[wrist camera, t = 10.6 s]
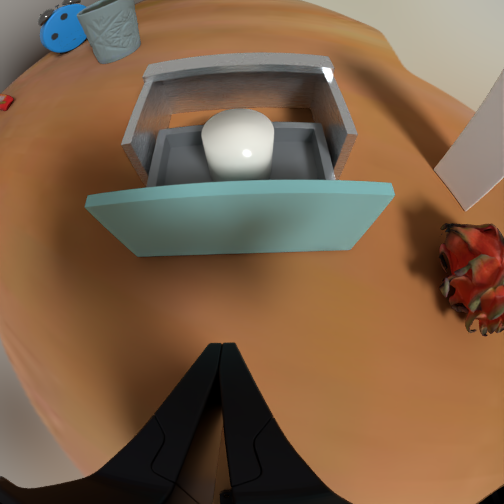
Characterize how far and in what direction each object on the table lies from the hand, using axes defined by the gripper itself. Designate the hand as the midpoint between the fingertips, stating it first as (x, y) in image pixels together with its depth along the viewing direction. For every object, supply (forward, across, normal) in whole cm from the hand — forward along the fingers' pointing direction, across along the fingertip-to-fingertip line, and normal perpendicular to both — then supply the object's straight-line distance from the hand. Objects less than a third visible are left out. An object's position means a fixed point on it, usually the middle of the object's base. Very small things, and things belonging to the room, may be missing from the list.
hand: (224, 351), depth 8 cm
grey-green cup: (+41, +21, -26) cm, 53 cm away
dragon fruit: (+10, -20, +6) cm, 23 cm away
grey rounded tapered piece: (+17, 0, -4) cm, 17 cm away
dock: (+21, -1, -6) cm, 22 cm away
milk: (+18, -26, -3) cm, 31 cm away
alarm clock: (+52, +40, -37) cm, 75 cm away
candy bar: (+41, +56, -26) cm, 74 cm away
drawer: (+17, 0, -2) cm, 17 cm away
